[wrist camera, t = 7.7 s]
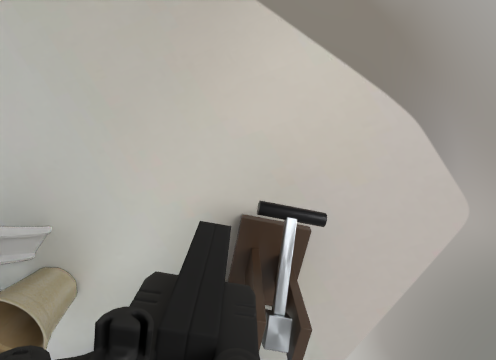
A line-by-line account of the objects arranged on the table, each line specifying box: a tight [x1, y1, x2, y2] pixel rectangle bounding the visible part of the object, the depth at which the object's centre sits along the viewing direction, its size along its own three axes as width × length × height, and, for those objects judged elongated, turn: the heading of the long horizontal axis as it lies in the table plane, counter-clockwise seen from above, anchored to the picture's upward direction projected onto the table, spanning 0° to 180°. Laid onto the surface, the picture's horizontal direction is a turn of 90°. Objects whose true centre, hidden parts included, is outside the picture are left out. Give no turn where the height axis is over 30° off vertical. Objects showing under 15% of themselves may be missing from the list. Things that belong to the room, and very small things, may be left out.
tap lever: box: [257, 201, 327, 353], centre depth 27 cm, size 13×7×2 cm, turn 168°
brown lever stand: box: [228, 214, 312, 360], centre depth 31 cm, size 12×9×14 cm
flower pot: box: [0, 267, 77, 353], centre depth 34 cm, size 9×9×9 cm
